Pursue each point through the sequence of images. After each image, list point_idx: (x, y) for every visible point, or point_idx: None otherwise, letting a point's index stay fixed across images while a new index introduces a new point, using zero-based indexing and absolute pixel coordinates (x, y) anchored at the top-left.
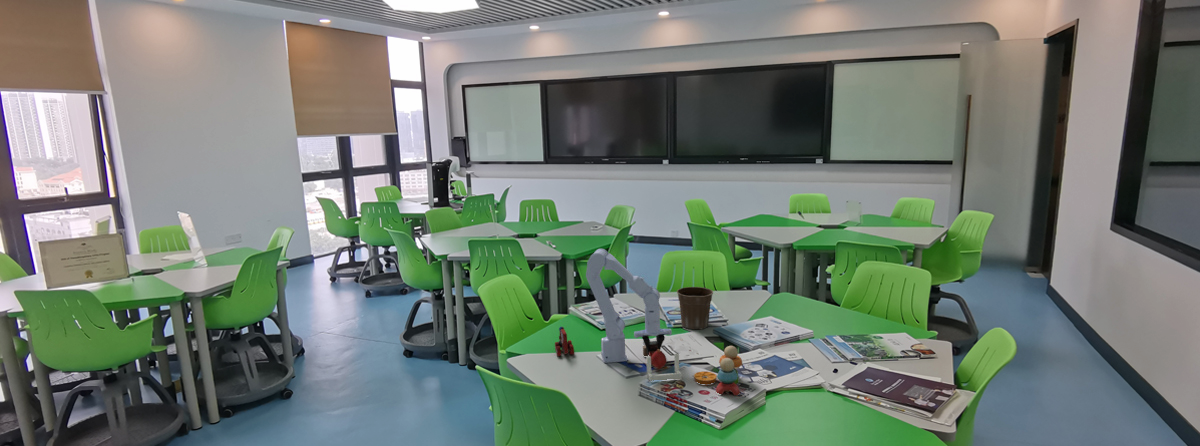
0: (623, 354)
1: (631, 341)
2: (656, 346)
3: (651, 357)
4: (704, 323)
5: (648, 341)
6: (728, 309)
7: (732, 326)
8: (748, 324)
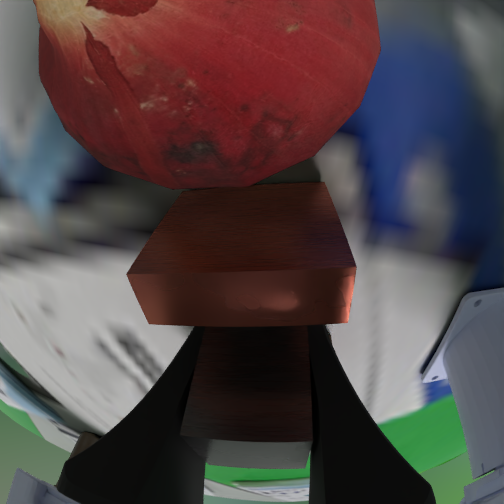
0: (491, 339)
1: None
2: (210, 403)
3: (378, 33)
4: (79, 443)
5: (352, 494)
6: None
7: (35, 410)
8: (15, 401)
